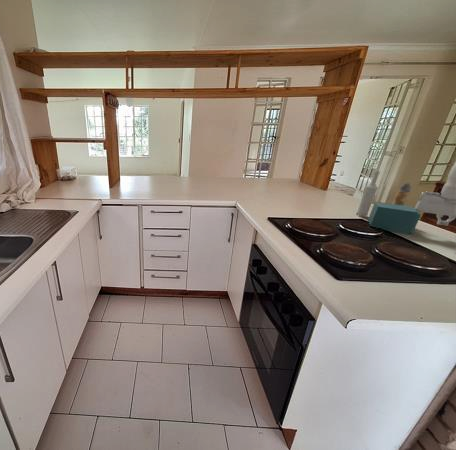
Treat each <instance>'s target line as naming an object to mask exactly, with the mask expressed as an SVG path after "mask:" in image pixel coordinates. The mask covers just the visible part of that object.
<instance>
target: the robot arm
mask: <svg viewBox="0 0 456 450" xmlns="http://www.w3.org/2000/svg"><path fill="white" fill-rule="evenodd" d="M414 209H415V210H416V211H417V212H418V213H426V214H432V215H433V214H434V215H436V218H437V222H436V224H437V225H440V226H445V227H448V226H449V223H451V222H452V221H455V219H456V161H455V162H454V163H453V165H452V167H451V169H450V171H449V173H448V175H447V181H446V182H445V183H444V184H443V187H442V188H441V191H440V192H433V191H425V192H421V193H420V194H419V196H418V201H417V202H416V204H415V206H414ZM444 216H448V218H447V219H446V220H444V219H443V220H442V218H443V217H444Z"/></svg>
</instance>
